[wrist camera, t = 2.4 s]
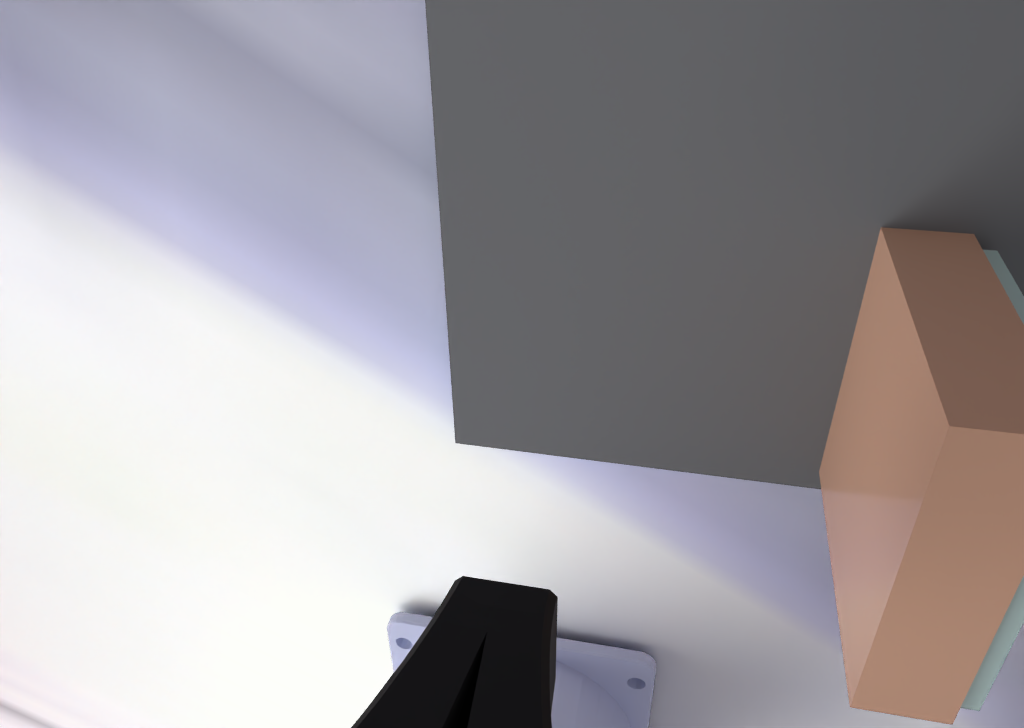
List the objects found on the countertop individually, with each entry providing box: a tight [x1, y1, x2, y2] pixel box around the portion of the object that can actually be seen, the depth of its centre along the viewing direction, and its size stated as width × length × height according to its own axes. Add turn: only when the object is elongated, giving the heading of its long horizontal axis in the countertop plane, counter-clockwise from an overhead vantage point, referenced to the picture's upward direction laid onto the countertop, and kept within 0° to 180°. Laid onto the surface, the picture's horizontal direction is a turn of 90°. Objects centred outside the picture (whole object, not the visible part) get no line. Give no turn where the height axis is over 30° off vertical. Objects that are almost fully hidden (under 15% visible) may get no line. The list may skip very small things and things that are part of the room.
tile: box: [819, 227, 1024, 724], centre depth 15 cm, size 6×2×6 cm, turn 1°
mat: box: [425, 0, 1024, 489], centre depth 16 cm, size 12×17×1 cm
